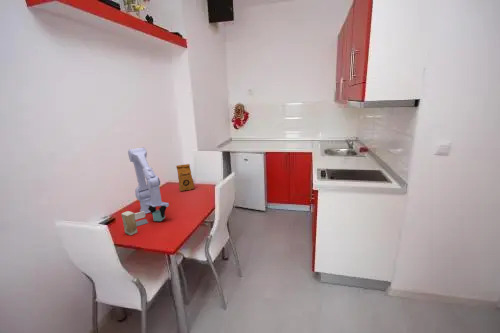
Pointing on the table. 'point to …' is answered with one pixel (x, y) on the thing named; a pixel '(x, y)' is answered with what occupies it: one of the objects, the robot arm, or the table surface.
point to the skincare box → (129, 223)
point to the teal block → (157, 216)
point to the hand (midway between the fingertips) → (159, 216)
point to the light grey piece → (139, 215)
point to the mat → (141, 222)
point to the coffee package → (185, 177)
